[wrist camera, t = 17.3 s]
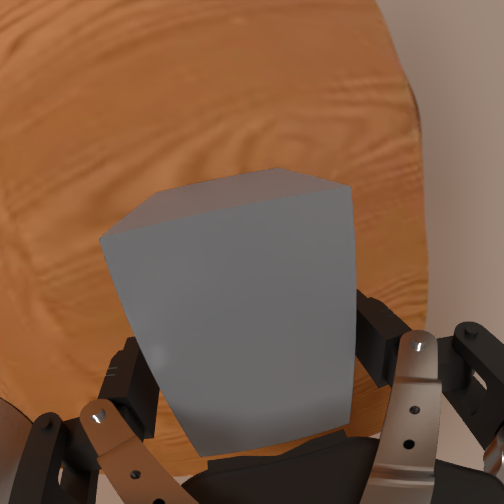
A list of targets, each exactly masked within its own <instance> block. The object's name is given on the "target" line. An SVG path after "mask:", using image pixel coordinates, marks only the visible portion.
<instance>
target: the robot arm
mask: <svg viewBox="0 0 504 504" xmlns="http://www.w3.org/2000/svg"><path fill="white" fill-rule="evenodd" d="M355 355H356V356H357V358H358V359H359V361H360V362H361V364H362V365H363V366H364V368H365V369H366V371H367V372H368V373H369V375H370V376H371V378H372V379H373V381H374V382H375V383H376V385H377V386H378V388H381V387H384V386H386V385H388V384H389V385H390V387H391V392H390V397H389V402H388V406H387V411H386V415H385V419H384V423H383V427H382V431H381V434H380V438H379V439H376V438H371V437H347V436H346V434H345V432H344V430H340V431H337V432H334V433H331V434H328V435H325V436H322V437H318V438H315V439H312V440H309V441H308V442H306V443H304V444H302V445H300V446H298V447H296V448H294V449H292V450H290V451H288V452H286V453H284V454H281V455H278V456H237V457H231V458H224V459H217V460H209V461H207V462H208V470H206V471H203V472H201V473H199V474H196V475H195V476H193V477H191V478H190V479H188V480H187V481H185V482H184V483H183V484H182V485H181V486H180V484H179V483H178V482H177V481H175V479H174V478H173V477H172V476H171V475H170V474H169V473H168V472H167V471H166V470H165V469H164V468H163V466H162V465H161V464H160V463H159V462H158V461H157V460H156V458H155V457H154V456H153V455H152V454H151V453H150V451H149V450H148V449H147V448H146V447H145V445H144V444H143V440H144V439H149V438H154V432H155V423H156V414H157V406H158V398H159V390H160V388H159V386H158V384H157V382H156V380H155V378H154V376H153V374H152V372H151V370H150V368H149V366H148V364H147V362H146V359H145V357H144V355H143V353H142V351H141V349H140V347H139V344H138V342H137V340H136V338H135V337H128V338H127V340H126V343H125V346H124V349H123V350H120V351H118V352H117V353H116V354H115V356H114V357H113V358H112V359H111V362H110V365H109V367H108V368H109V369H108V370H107V373H106V376H105V378H104V381H103V384H102V387H101V390H100V393H99V396H98V399H97V400H93V401H91V402H89V403H88V404H87V405H85V406H84V407H83V409H82V410H81V412H80V417H77V418H74V419H70V420H66V421H62V419H61V418H60V417H59V415H57V414H56V413H53V412H48V413H45V414H42V415H41V416H39V417H38V418H37V419H36V420H35V421H34V423H33V425H32V424H31V422H30V421H29V420H28V419H27V418H26V417H25V416H24V415H22V414H21V413H20V412H19V411H18V410H17V409H15V408H14V407H12V406H11V405H10V404H8V403H7V402H5V401H4V400H2V399H0V504H95V502H96V492H97V482H98V475H99V470H100V469H102V470H103V471H104V473H105V475H106V476H107V478H108V479H109V481H110V483H111V484H112V486H113V487H114V489H115V490H116V492H117V493H118V495H119V496H120V498H121V499H122V501H123V502H124V503H125V504H504V344H503V343H501V342H500V341H499V340H498V339H497V338H496V337H495V336H494V335H492V334H491V333H490V332H489V331H488V330H487V329H485V328H484V327H483V326H482V325H480V324H478V323H475V322H462V323H460V324H458V325H457V326H456V328H455V331H454V335H453V336H449V337H443V338H437V339H436V338H435V336H434V335H433V334H431V333H429V332H427V331H424V330H412V329H411V328H410V327H408V326H407V325H406V324H405V323H404V322H403V321H402V320H401V319H400V318H399V317H398V316H397V315H396V314H394V313H393V312H392V311H391V310H390V309H388V307H387V306H386V305H385V304H384V303H382V302H381V301H379V300H377V299H374V298H372V297H370V298H367V297H366V296H365V295H364V294H362V293H361V292H360V291H359V290H358V289H356V343H355ZM475 371H476V372H477V373H478V375H479V376H480V377H481V378H482V379H483V380H484V381H485V383H486V386H487V390H486V389H485V388H484V387H483V386H482V385H481V384H480V382H479V381H478V380H477V379H476V378H475V377H474V376H473V375H474V373H475ZM441 392H442V393H443V394H444V396H445V397H446V398H447V400H448V401H449V402H450V404H451V405H452V406H453V407H454V409H455V410H456V412H457V413H458V414H459V416H460V417H461V418H462V420H463V421H464V422H465V424H466V425H467V427H468V428H469V429H470V431H471V432H472V434H473V435H474V436H475V438H476V439H477V441H478V442H479V444H480V445H481V446H482V448H483V449H484V451H485V452H484V456H483V461H484V471H480V470H475V469H471V468H467V467H463V466H459V465H456V464H452V463H449V462H445V461H442V460H438V459H436V452H437V444H438V436H439V425H440V412H441ZM61 464H62V465H63V466H64V468H63V472H62V478H61V483H60V485H59V482H58V475H59V470H60V466H61Z"/></svg>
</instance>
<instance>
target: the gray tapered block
mask: <svg viewBox="0 0 504 504" xmlns="http://www.w3.org/2000/svg"><path fill="white" fill-rule="evenodd" d="M99 241H100V244H101V247H102V250H103V253H104V256H105V260H106V263H107V265H108V268H109V271H110V274H111V277H112V280H113V283H114V285H115V288H116V291H117V294H118V296H119V299H120V301H121V304H122V306H123V309H124V311H125V314H126V316H127V319H128V321H129V324H130V326H131V328H132V331H133V333H134V335H135V338H136V340H137V342H138V344H139V347H140V349H141V351H142V353H143V355H144V357H145V359H146V362H147V364H148V366H149V368H150V370H151V372H152V374H153V376H154V378H155V380H156V382H157V384H158V386H159V388H160V389H161V391H162V393H163V395H164V397H165V399H166V401H167V402H168V404H169V406H170V408H171V410H172V411H173V413H174V415H175V417H176V418H177V420H178V422H179V424H180V425H181V427H182V429H183V430H184V432H185V434H186V435H187V437H188V438H189V440H190V442H191V443H192V445H193V446H194V448H195V450H196V451H197V453H198V454H199V456H200V457H204V456H213V455H221V454H228V453H234V452H240V451H246V450H252V449H257V448H262V447H267V446H272V445H276V444H280V443H285V442H289V441H293V440H297V439H300V438H304V437H308V436H311V435H315V434H318V433H322V432H325V431H328V430H331V429H334V428H337V427H340V426H343V425H346V424H349V421H350V412H351V403H352V392H353V379H354V364H355V343H356V255H355V234H354V218H353V205H352V194H351V186H347V185H344V184H340V183H337V182H333V181H329V180H326V179H322V178H318V177H314V176H310V175H306V174H302V173H298V172H294V171H290V170H285V169H281V168H274V169H268V170H262V171H256V172H251V173H245V174H240V175H235V176H230V177H224V178H219V179H215V180H210V181H205V182H200V183H196V184H191V185H187V186H182V187H178V188H174V189H169V190H165V191H161V192H157V193H155V194H154V195H152V196H151V197H150V198H148V199H147V200H146V201H144V202H143V203H142V204H140V205H139V206H138V207H137V208H135V209H134V210H133V211H132V212H130V213H129V214H128V215H126V216H125V217H124V218H123V219H121V220H120V221H119V222H118V223H117V224H115V225H114V226H113V227H112V228H110V229H109V230H108V231H107V232H106V233H105V234H103V235H102V236H101V237H100V238H99Z"/></svg>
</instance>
